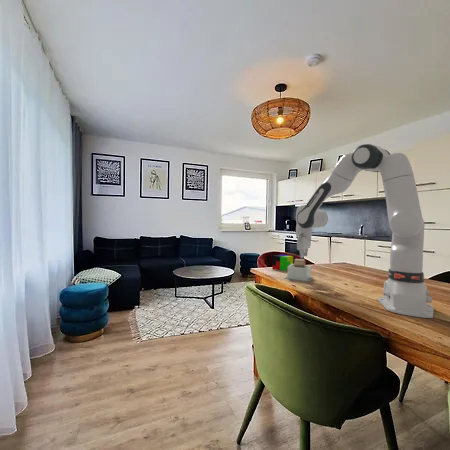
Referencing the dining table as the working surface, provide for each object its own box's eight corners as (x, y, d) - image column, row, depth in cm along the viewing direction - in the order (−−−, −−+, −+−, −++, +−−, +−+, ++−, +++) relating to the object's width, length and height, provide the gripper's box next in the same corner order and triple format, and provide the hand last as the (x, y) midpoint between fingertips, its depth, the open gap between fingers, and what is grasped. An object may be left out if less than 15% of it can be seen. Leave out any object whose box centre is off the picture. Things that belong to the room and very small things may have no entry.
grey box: (306, 281, 139) (307, 268, 139) (287, 278, 144) (287, 266, 144) (310, 277, 148) (310, 265, 148) (292, 275, 154) (292, 263, 154)
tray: (309, 283, 137) (309, 282, 137) (283, 280, 144) (283, 278, 144) (313, 278, 149) (313, 277, 149) (290, 276, 156) (290, 274, 156)
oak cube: (303, 269, 143) (303, 260, 143) (294, 268, 145) (294, 259, 145) (304, 267, 147) (305, 259, 147) (296, 267, 149) (296, 258, 149)
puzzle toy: (281, 268, 182) (281, 254, 182) (292, 270, 174) (293, 256, 174) (272, 269, 176) (272, 255, 175) (284, 272, 168) (284, 257, 168)
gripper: (305, 233, 135) (305, 259, 134) (312, 232, 152) (312, 255, 152) (293, 233, 138) (293, 258, 138) (302, 232, 155) (302, 254, 155)
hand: (303, 257), depth 145 cm, fingers open, 8 cm apart
